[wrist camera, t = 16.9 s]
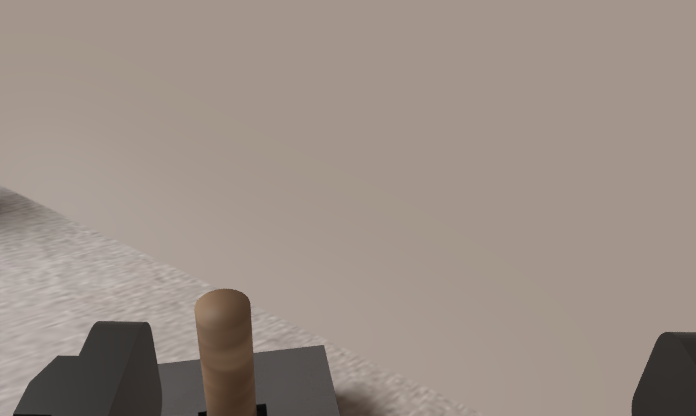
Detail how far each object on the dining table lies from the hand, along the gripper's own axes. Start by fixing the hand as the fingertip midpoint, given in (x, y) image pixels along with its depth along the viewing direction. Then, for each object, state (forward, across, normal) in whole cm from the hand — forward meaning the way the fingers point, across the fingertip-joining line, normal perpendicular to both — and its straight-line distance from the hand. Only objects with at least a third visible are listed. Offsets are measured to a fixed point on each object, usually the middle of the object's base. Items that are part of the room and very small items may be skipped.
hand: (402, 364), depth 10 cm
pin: (+19, +7, +32) cm, 38 cm away
